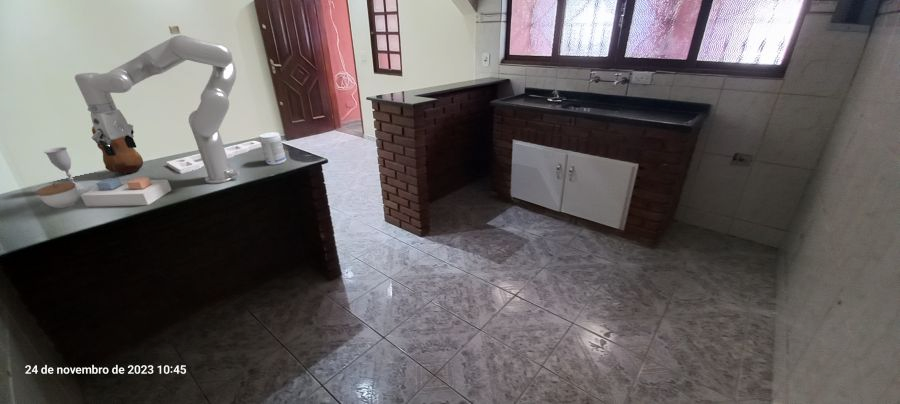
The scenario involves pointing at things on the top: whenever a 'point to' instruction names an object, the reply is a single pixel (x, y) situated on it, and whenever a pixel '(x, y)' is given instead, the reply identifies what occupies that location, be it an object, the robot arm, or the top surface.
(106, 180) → the slate-blue key
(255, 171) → the top surface
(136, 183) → the terracotta key
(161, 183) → the key panel
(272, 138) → the supplement tub
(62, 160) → the chalice
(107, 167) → the butternut squash
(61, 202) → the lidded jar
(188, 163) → the holder
